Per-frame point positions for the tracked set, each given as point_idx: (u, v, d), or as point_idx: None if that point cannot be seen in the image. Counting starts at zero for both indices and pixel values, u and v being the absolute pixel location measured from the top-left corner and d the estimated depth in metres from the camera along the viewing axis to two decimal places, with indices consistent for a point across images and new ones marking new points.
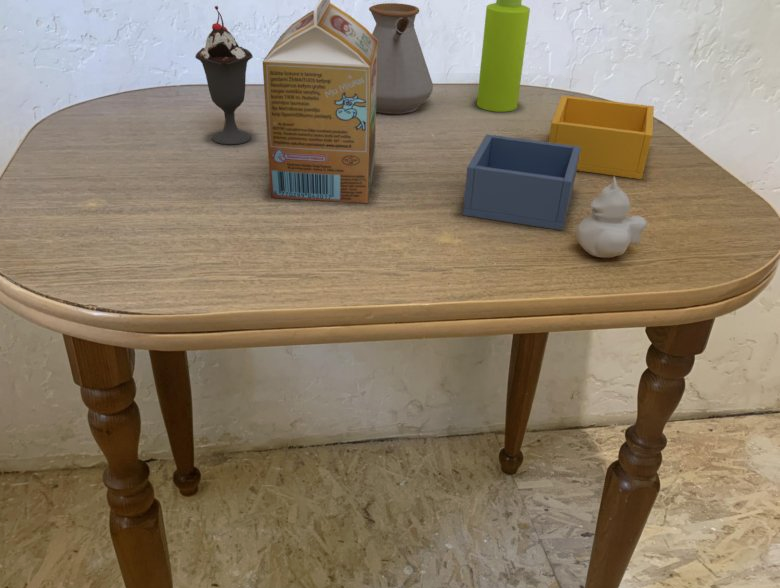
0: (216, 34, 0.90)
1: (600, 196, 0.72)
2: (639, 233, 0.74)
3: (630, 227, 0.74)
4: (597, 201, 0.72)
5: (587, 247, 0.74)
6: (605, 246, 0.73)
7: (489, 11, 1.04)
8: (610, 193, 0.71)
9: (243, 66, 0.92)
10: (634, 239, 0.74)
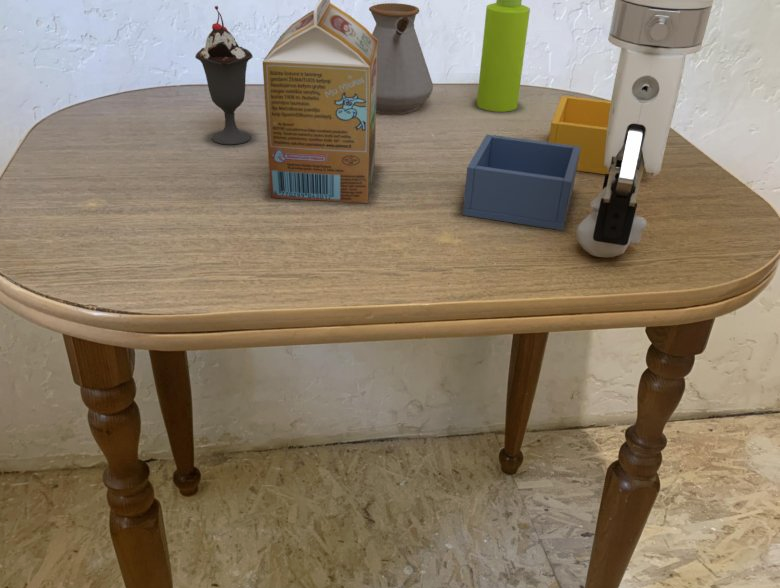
0: (216, 34, 0.90)
1: (600, 196, 0.72)
2: (639, 233, 0.74)
3: None
4: (597, 201, 0.72)
5: (587, 247, 0.74)
6: (605, 246, 0.73)
7: (489, 11, 1.04)
8: None
9: (243, 66, 0.92)
10: (634, 239, 0.74)
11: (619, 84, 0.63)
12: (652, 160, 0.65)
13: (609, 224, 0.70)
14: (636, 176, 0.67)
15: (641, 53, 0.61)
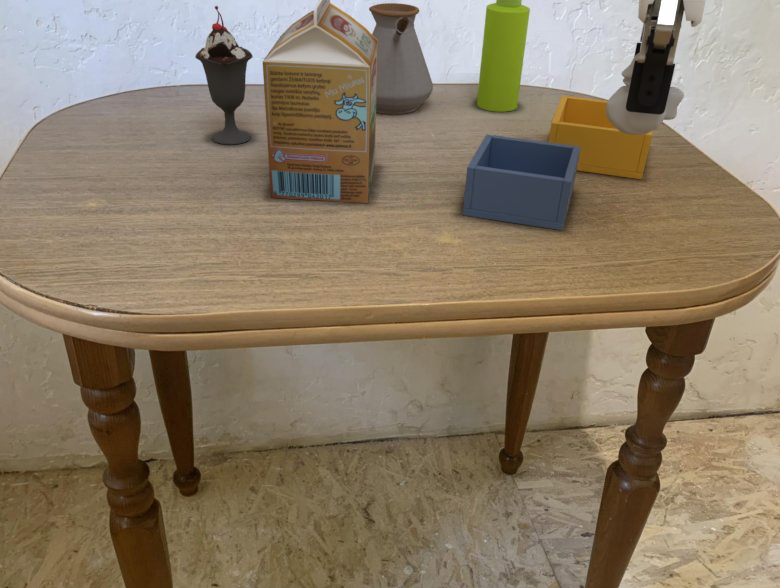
0: (216, 34, 0.90)
1: (632, 63, 0.66)
2: (675, 105, 0.68)
3: None
4: (629, 69, 0.66)
5: (619, 123, 0.68)
6: (639, 119, 0.66)
7: (489, 11, 1.04)
8: None
9: (243, 66, 0.92)
10: (670, 113, 0.68)
11: None
12: (693, 5, 0.58)
13: (644, 89, 0.64)
14: (674, 29, 0.61)
15: None
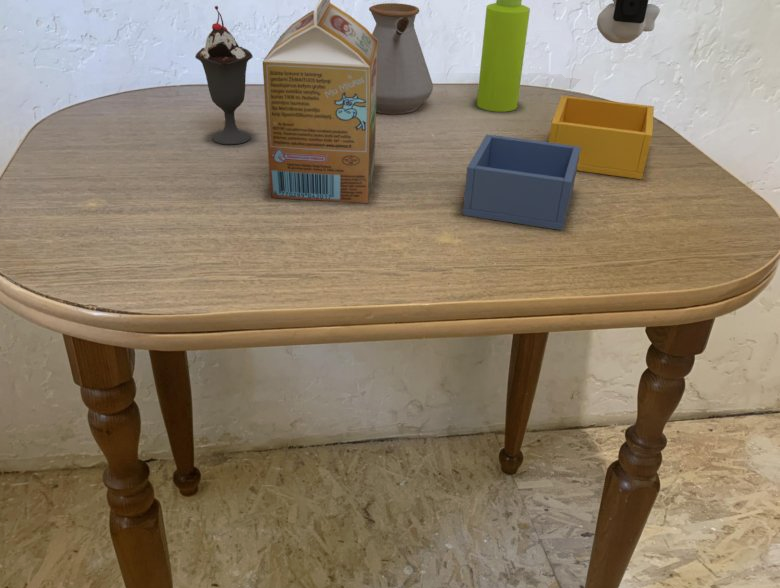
0: (216, 34, 0.90)
1: None
2: (653, 19, 0.83)
3: None
4: None
5: (607, 32, 0.83)
6: (623, 28, 0.82)
7: (489, 11, 1.04)
8: None
9: (243, 66, 0.92)
10: (648, 25, 0.84)
11: None
12: None
13: (628, 1, 0.79)
14: None
15: None
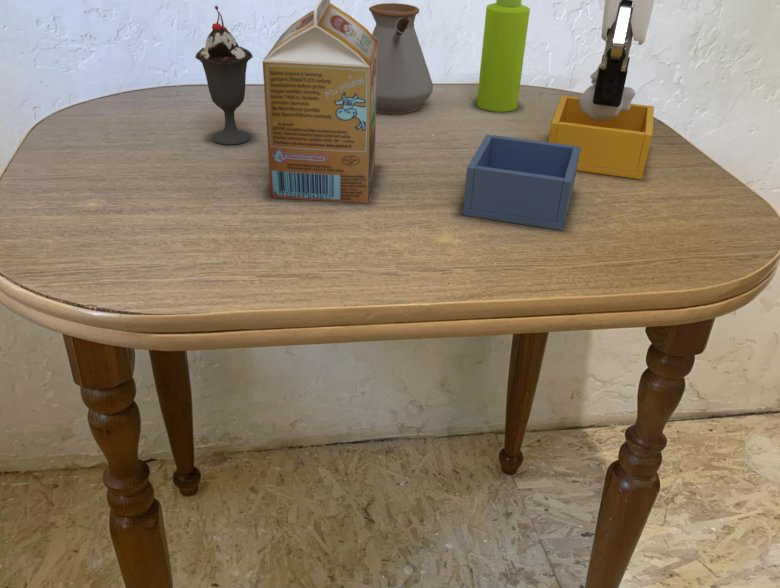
0: (216, 34, 0.90)
1: (598, 69, 0.91)
2: (629, 101, 0.93)
3: (622, 95, 0.92)
4: (595, 73, 0.91)
5: (587, 112, 0.93)
6: (602, 109, 0.91)
7: (489, 11, 1.04)
8: None
9: (243, 66, 0.92)
10: (625, 106, 0.93)
11: None
12: (638, 30, 0.83)
13: (605, 88, 0.89)
14: (626, 46, 0.86)
15: None
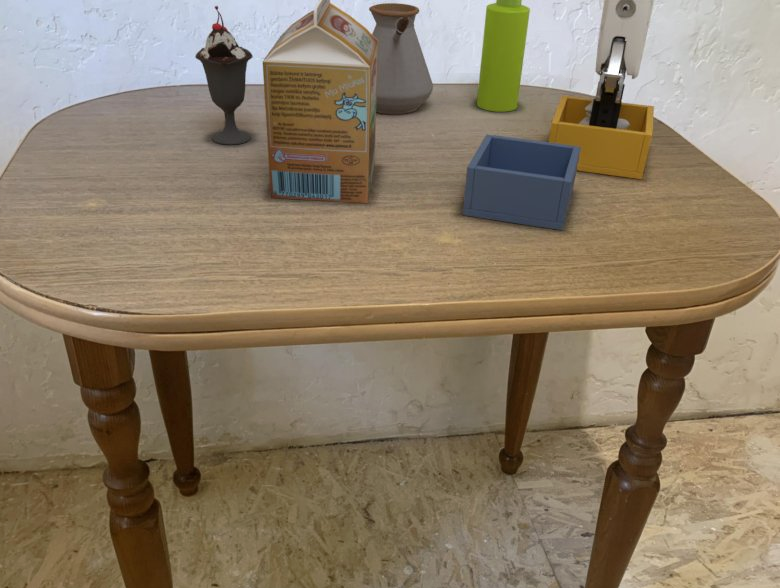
0: (216, 34, 0.90)
1: (592, 101, 0.93)
2: None
3: None
4: (590, 105, 0.93)
5: None
6: None
7: (489, 11, 1.04)
8: None
9: (243, 66, 0.92)
10: None
11: (606, 6, 0.84)
12: (631, 65, 0.86)
13: (600, 119, 0.90)
14: (620, 78, 0.88)
15: None
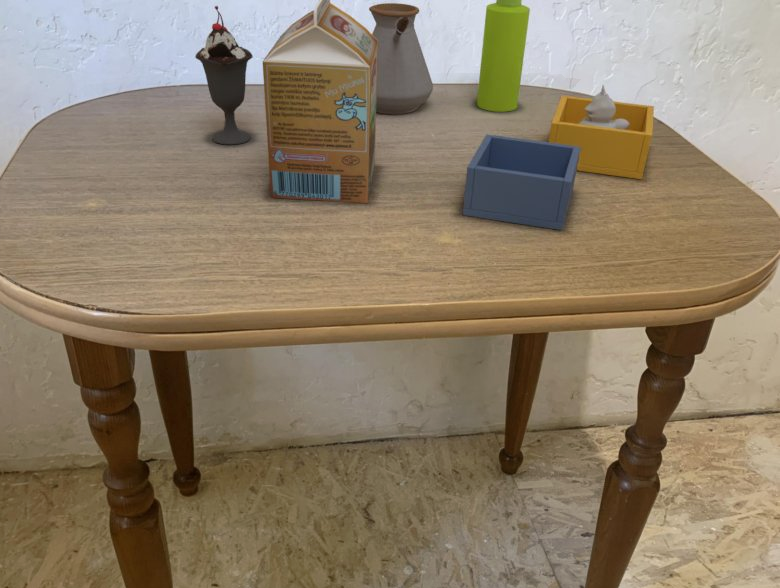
0: (216, 34, 0.90)
1: (592, 101, 0.93)
2: None
3: (616, 127, 0.94)
4: (590, 105, 0.93)
5: None
6: None
7: (489, 11, 1.04)
8: (600, 98, 0.92)
9: (243, 66, 0.92)
10: None
11: None
12: None
13: None
14: None
15: None
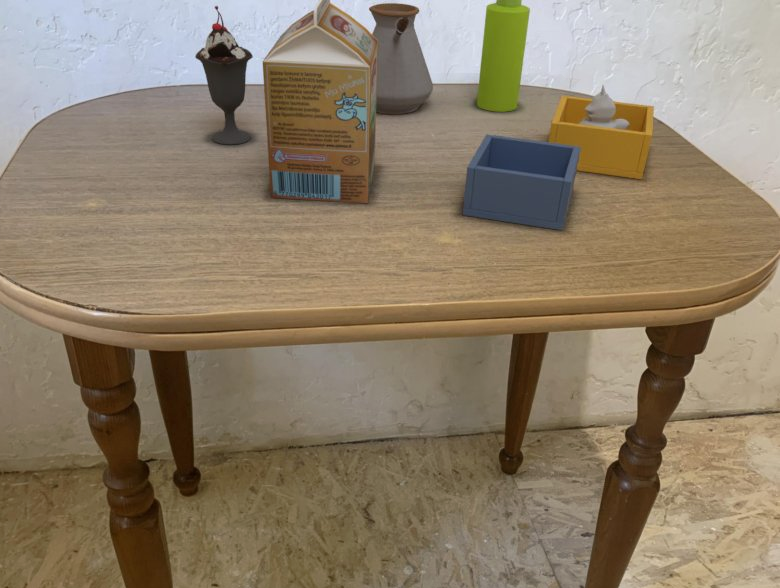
0: (216, 34, 0.90)
1: (592, 101, 0.93)
2: None
3: (616, 127, 0.94)
4: (590, 105, 0.93)
5: None
6: None
7: (489, 11, 1.04)
8: (600, 98, 0.92)
9: (243, 66, 0.92)
10: None
11: None
12: None
13: None
14: None
15: None
